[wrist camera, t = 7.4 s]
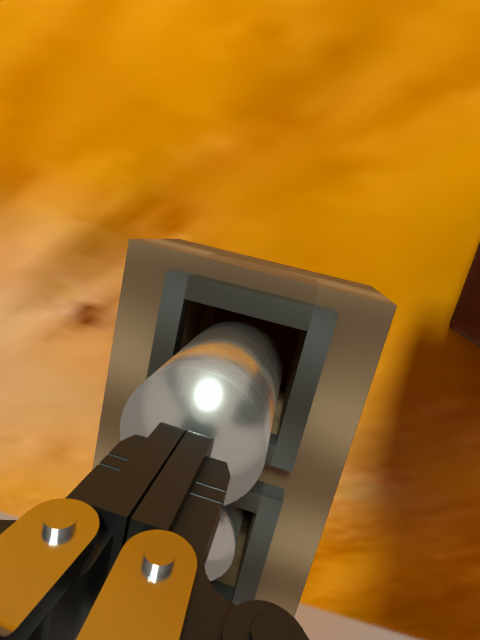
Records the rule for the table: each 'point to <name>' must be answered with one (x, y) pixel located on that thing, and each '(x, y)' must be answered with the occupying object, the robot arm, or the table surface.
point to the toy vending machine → (469, 305)
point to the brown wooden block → (293, 399)
